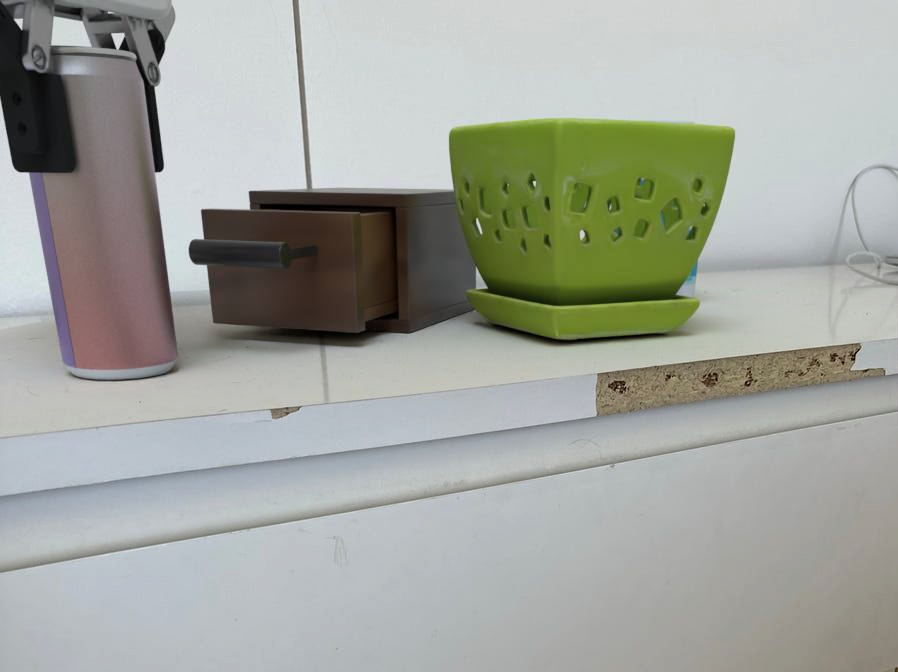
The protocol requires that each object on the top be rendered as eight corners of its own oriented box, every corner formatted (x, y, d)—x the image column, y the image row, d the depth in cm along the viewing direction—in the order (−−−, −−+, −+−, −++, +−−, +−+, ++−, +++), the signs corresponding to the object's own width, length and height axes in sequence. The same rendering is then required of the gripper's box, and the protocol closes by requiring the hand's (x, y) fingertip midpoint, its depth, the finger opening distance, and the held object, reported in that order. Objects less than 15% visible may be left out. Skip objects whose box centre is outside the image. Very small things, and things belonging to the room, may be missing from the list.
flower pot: (721, 337, 65) (745, 123, 60) (546, 353, 59) (555, 116, 54) (599, 311, 76) (610, 129, 71) (442, 322, 70) (440, 123, 64)
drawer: (320, 345, 56) (312, 216, 53) (166, 334, 59) (151, 212, 56) (432, 308, 70) (431, 206, 67) (305, 301, 73) (298, 203, 70)
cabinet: (409, 333, 66) (406, 193, 62) (259, 323, 69) (248, 190, 65) (476, 308, 77) (476, 189, 73) (345, 301, 81) (339, 187, 77)
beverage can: (40, 373, 52) (-21, 48, 45) (129, 357, 57) (85, 59, 50) (115, 386, 49) (62, 42, 43) (202, 367, 54) (166, 54, 47)
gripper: (-77, -424, 32) (29, 173, 40) (213, -239, 47) (249, 172, 55) (-240, -388, 35) (-109, 172, 42) (86, -222, 49) (138, 171, 57)
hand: (92, 168), depth 49 cm, fingers open, 6 cm apart
